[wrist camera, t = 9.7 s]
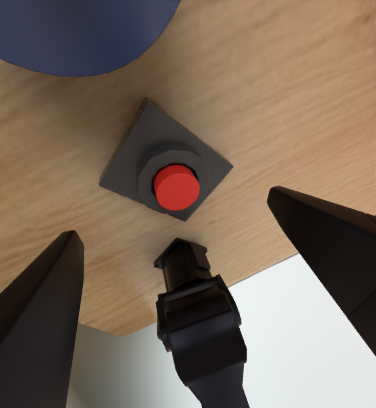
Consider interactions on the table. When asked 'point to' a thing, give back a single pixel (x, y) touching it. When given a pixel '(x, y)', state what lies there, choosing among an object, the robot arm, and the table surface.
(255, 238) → the table surface
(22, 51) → the lid
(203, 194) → the switch block
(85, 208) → the table surface
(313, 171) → the table surface
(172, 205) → the button
